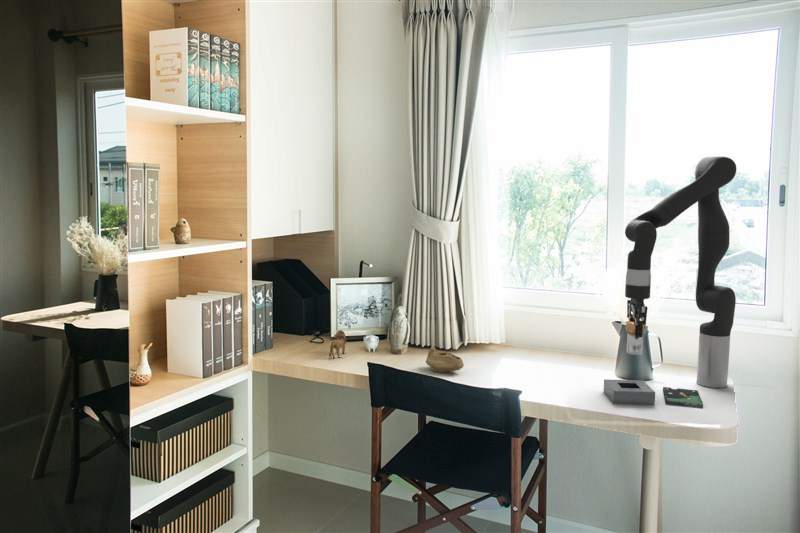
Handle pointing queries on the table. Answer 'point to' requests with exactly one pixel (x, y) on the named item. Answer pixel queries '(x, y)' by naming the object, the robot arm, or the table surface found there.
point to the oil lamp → (443, 361)
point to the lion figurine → (338, 343)
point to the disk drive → (682, 397)
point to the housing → (629, 392)
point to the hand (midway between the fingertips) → (635, 334)
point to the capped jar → (634, 339)
